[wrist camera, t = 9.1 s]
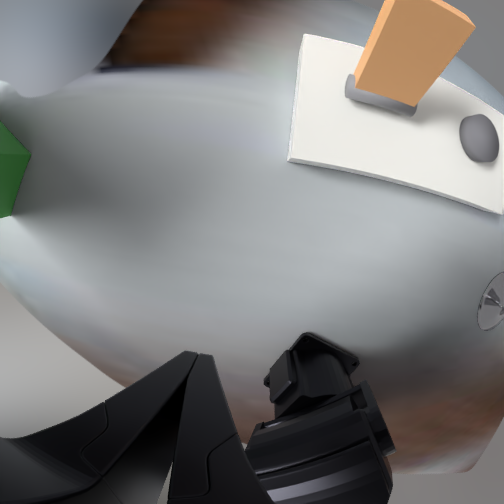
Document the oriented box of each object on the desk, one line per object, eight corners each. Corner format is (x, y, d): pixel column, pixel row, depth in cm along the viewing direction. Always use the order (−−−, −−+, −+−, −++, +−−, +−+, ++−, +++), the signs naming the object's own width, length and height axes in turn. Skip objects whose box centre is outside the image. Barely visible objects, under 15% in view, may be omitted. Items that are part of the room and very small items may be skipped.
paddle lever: (408, 121, 14) (480, 31, 5) (345, 102, 14) (397, -14, 5) (404, 103, 14) (467, 15, 5) (343, 85, 14) (388, -26, 5)
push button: (487, 167, 14) (498, 168, 13) (458, 154, 14) (469, 153, 13) (488, 126, 13) (498, 124, 12) (459, 109, 13) (469, 106, 12)
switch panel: (482, 210, 18) (502, 215, 15) (287, 161, 18) (291, 157, 15) (486, 120, 16) (506, 117, 13) (299, 51, 16) (304, 33, 13)
